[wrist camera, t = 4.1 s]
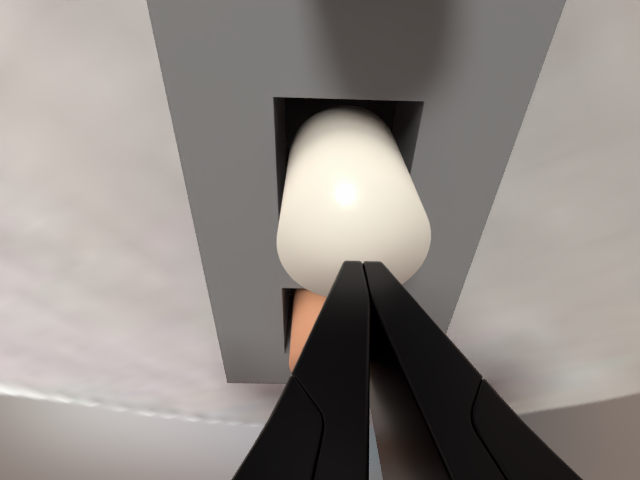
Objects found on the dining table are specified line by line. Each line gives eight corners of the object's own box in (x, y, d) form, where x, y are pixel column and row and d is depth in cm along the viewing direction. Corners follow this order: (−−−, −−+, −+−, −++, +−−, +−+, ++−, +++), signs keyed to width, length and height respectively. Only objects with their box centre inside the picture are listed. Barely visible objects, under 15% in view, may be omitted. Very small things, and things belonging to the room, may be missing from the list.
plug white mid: (405, 107, 12) (447, 179, 8) (388, 206, 14) (415, 301, 10) (288, 103, 12) (272, 174, 8) (290, 204, 14) (279, 298, 10)
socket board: (625, -450, 8) (822, -714, 5) (412, 328, 24) (427, 385, 21) (117, -480, 8) (-18, -776, 5) (239, 325, 24) (227, 383, 20)
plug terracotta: (370, 255, 19) (384, 336, 15) (362, 307, 21) (373, 389, 17) (294, 253, 19) (288, 334, 15) (295, 306, 21) (289, 388, 17)
